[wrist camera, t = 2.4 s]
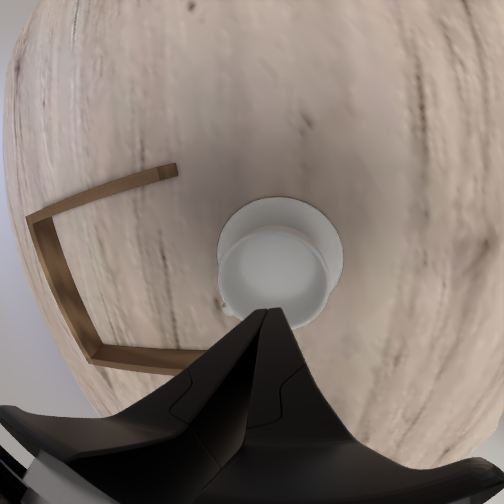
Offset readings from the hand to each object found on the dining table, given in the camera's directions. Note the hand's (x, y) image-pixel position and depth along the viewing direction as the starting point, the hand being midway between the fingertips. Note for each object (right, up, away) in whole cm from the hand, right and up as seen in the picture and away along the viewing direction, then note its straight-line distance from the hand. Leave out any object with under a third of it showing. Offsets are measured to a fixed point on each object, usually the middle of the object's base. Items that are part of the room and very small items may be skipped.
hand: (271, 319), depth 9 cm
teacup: (+2, +2, +14) cm, 14 cm away
